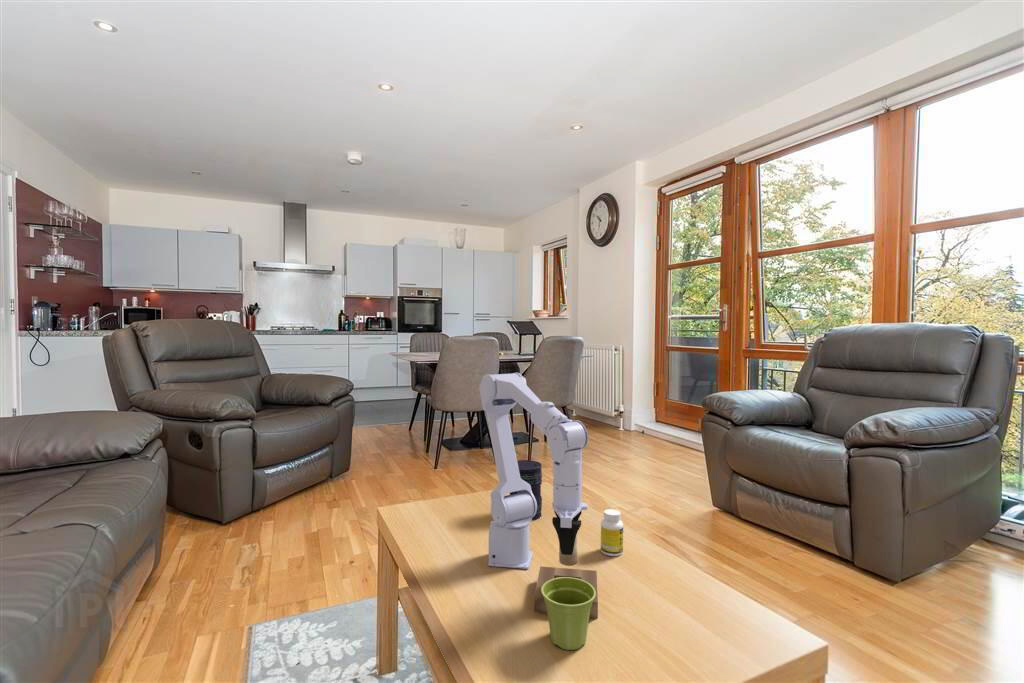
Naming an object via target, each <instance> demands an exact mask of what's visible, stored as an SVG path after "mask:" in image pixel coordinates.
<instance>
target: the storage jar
mask: <svg viewBox="0 0 1024 683" xmlns="http://www.w3.org/2000/svg"><path fill="white" fill-rule="evenodd" d="M517 463H518V468H519V473H520V478H521V479H522V480H524V481H525V482H527V483H528V484H530V486H531V490H532V493H533V495H534V497H535V499H536V502H537V511H536V514H535V516H534V517H532V522H534V520H535V521H537V519H538V520H539V519H540V517H541V518H542V508H543V498H542V491H541V490H542V487H541V486H542V483H543V479H542V478H543V473H542V467H543V466H542V463H541V462H539V461H537V460H528V459H527V460H526V459H522V460H521V459H520V460H517ZM515 493H518V492H517V491H515V492H511V493H509V495H511V494H515Z"/></svg>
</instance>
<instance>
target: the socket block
mask: <svg viewBox="0 0 1024 683" xmlns="http://www.w3.org/2000/svg"><path fill="white" fill-rule="evenodd" d="M597 573H598V572H597V570H590V569H579V568H567V567H566V568H565V567H554V566H553V567H552V566H542V565H541V566H540V567H539V572H538V576H537V582H536V586H535V591H534V595H533V597H534V598H533V604H534V605H533V609H534V610H533V611H534V612H533V613H536V614H537V613H539V614H547V615H548V613H547V606H546V603H545V600H544V597H543V595H542V592H541V588H542V586H543V584H544V583H545V582H547V581H549V580H551V579H554V578H558V577H572V578H578V579H581V580H584V581H586V582H588V583H589V584H591V585H592V586H593V587H594V589H595V592H596V595H595V598H594V600H593V602H592V606H591V608H590V615H589V619H590V618H593V619H599V615H598V614H599V600H598V599H599V595H598V594H599V593H598V575H597Z"/></svg>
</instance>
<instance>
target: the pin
mask: <svg viewBox="0 0 1024 683" xmlns="http://www.w3.org/2000/svg"><path fill="white" fill-rule="evenodd" d="M572 520H573V519H572ZM558 545H559V546H558V547H559V549H558V550H559V552H558V559H559V560H558V562H559V563H560V564H561V565H563V566H566V567H567V566H568V567H571V566H575V565H577V564H578V534H577V535H576V538H575V544H574V550H573V553H572V555H564V554H562V553H561V550H560V544H559V543H558Z"/></svg>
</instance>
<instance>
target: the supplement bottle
mask: <svg viewBox="0 0 1024 683" xmlns="http://www.w3.org/2000/svg"><path fill="white" fill-rule="evenodd" d="M621 515H622V514H621V511H619V510H617V509H612V508H610V509H609V508H608V509H605V510H604V511H603V519H602V520H601V522H600V551H601V553H602V554H604V555H605V556H610V557H619V556H621V555H622V554H623V553H624V523H623V520H621Z"/></svg>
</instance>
